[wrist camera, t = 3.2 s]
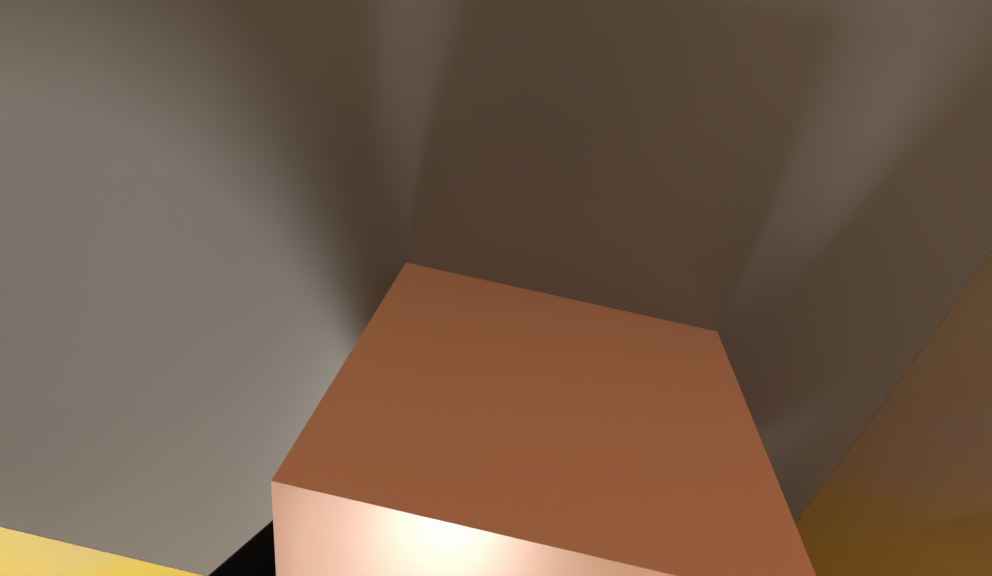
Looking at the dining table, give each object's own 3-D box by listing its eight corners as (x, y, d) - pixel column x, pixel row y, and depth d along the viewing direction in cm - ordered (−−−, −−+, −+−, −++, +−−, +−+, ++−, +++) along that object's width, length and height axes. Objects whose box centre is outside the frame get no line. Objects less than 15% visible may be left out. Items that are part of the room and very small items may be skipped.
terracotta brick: (405, 262, 8) (271, 481, 4) (717, 331, 8) (830, 612, 4) (376, 551, 11) (287, 798, 8) (589, 601, 11) (594, 874, 8)
